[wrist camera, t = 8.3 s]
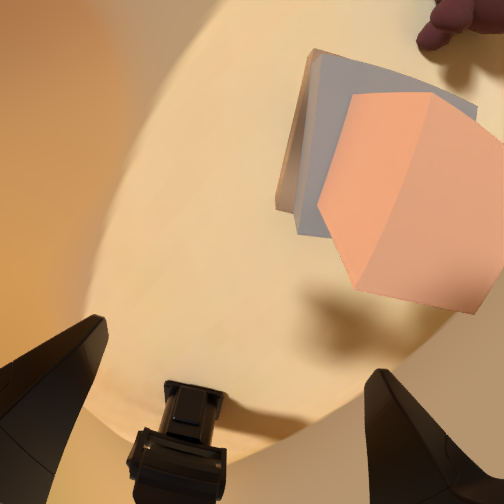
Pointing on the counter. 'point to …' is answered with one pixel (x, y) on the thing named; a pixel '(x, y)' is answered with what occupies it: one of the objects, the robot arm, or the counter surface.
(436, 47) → the maroon plush toy
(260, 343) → the counter surface
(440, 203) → the block
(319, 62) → the tower top
